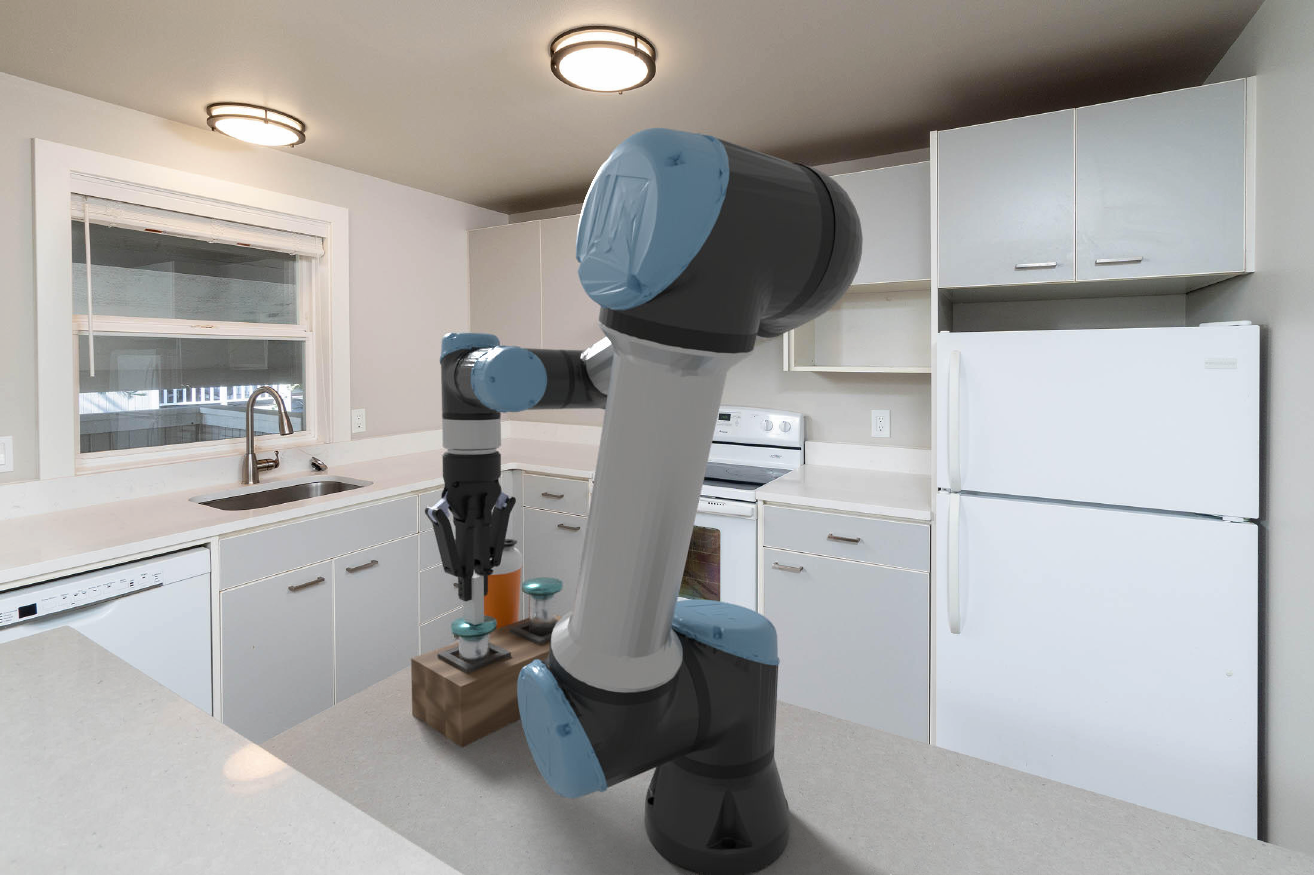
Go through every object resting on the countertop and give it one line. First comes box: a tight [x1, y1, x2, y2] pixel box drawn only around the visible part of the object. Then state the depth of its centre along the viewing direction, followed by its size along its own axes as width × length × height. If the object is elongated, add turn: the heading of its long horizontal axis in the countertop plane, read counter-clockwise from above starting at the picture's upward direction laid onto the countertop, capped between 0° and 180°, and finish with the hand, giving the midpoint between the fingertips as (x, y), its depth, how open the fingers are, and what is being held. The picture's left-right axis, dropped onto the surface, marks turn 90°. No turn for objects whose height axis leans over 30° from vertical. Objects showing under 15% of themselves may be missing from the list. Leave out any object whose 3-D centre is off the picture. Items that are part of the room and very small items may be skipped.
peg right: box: [521, 576, 563, 637], centre depth 98 cm, size 6×6×9 cm
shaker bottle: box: [474, 538, 524, 629], centre depth 106 cm, size 9×9×20 cm
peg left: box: [450, 615, 497, 664], centre depth 89 cm, size 6×6×9 cm
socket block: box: [410, 614, 563, 748], centre depth 94 cm, size 12×24×9 cm, turn 140°
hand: (473, 620), depth 89 cm, fingers closed
